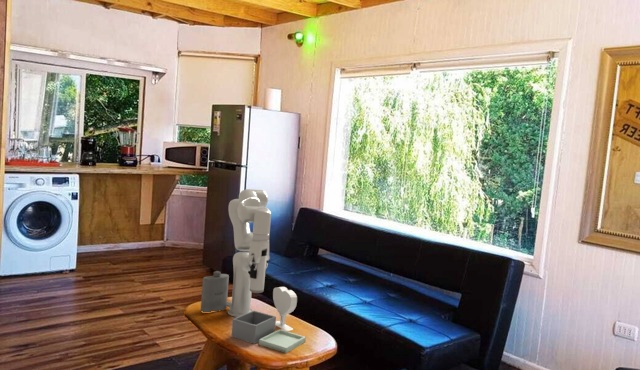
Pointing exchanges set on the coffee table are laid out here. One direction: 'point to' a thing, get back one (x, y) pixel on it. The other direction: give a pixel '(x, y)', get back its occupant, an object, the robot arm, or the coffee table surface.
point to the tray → (282, 340)
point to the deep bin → (253, 326)
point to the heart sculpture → (284, 305)
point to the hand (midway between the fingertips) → (257, 276)
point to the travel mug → (259, 275)
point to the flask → (214, 292)
